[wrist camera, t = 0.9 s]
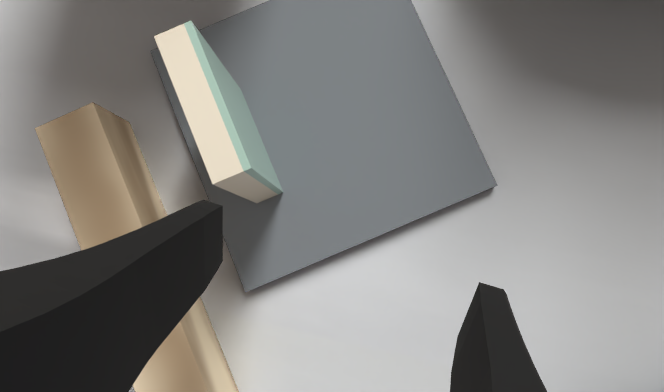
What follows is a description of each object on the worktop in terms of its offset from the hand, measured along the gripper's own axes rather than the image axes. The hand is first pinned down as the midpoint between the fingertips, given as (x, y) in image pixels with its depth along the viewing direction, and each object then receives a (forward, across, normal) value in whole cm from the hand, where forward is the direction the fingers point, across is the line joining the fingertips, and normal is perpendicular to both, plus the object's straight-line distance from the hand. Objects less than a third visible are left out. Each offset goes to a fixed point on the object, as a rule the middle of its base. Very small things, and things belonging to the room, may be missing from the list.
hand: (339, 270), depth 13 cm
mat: (+13, +5, +2) cm, 14 cm away
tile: (+11, +8, +3) cm, 14 cm away
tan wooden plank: (+7, +11, +10) cm, 16 cm away
